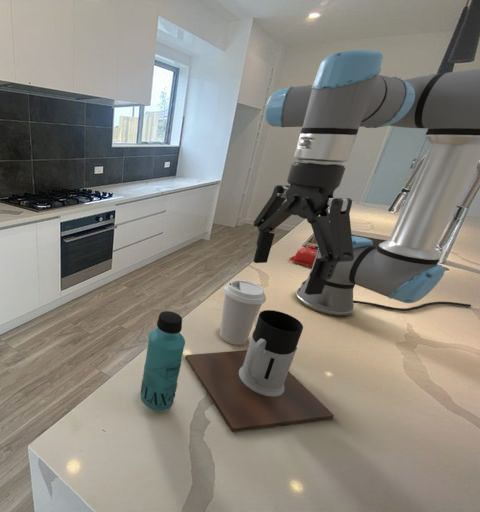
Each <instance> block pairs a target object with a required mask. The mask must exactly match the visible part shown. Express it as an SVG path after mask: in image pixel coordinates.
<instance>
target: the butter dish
mask: <svg viewBox="0 0 480 512" xmlns="http://www.w3.org/2000/svg"><path fill="white" fill-rule="evenodd" d="M317 251H318V249H316V245H314V244H309V245H308V247H300V248H299V249H298V250H297V251H296V253H295V255H292V256H291V257H290V258H289V259H288V260H289V261H291V262H294V263H296V264H298V265H302V266H305V267H308V268H312V266H313V263H314V260H315V257H316V254H317Z"/></svg>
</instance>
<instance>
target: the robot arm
mask: <svg viewBox="0 0 480 512" xmlns="http://www.w3.org/2000/svg"><path fill="white" fill-rule="evenodd" d="M383 58H384V57H383V53H382V52H381V51H380V50H377V49H353V50H351V49H350V50H345V51H340V52H335V53H332V54H330V55H328V56H326V57H324V58H323V60H321V62H320V64H319V67H318V69H317V73H316V76H315V78H314V81H313V83H312V84H307V85H299V86H288V87H284V88H279V89H277V90H276V91H274V92H273V93H272V94H271V95H270V97H268V100H267V102H266V105H265V106H266V107H265V110H264V117H265V120H266V122H267V124H268V125H269V126H271V127H277V128H279V127H280V128H301V130H300V133H299V137H298V140H297V145H296V148H295V152H294V155H293V158H294V159H296V161H294V162H293V163H291V165H290V169H289V173H288V176H287V180H286V182H287V183H288V184H289V185H288V184H276V185H275V186H274V188H273V191H272V193H271V195H270V198H269V199H268V200H267V202H266V203H265V205H264V206H263V207H262V209H261V211H260V212H259V213H258V214H257V216H256V218H255V219H254V221H253V226H254V227H256V228H257V230H258V232H259V233H258V235H257V240H256V250H255V253H254V258H253V263H254V264H266V263H268V259H269V256H270V253H271V249H272V245H273V241H274V239H275V235H276V234H275V233H274V232H275V229H276V228H278V227H279V226H280V225H281V224H282V223H284V222H285V221H286V220H287V219H289V218H290V217H291V216H298V217H300V218H301V219H304V220H305V219H306V221H307V223H308V224H310V226H311V229H312V231H313V235H314V238H315V242H316V244H317V247H318V248H317V250H318V251H317V254H316V257H315V260H314V263H313V266H312V267H311V268H310V272H309V275H308V277H307V278H306V279H305V280H304V281H302V283H300V287H299V288H297V290H296V292H295V296H294V297H295V299H296V301H297V302H298V303H299V304H301V305H302V306H304V307H306V308H307V309H309V310H312V311H315V312H317V313H321V314H323V315H328V316H334V317H348V316H350V315H351V314H352V313H353V310H354V307H355V306H354V304H356V305H357V304H358V305H365V306H366V305H367V306H372V307H377V308H382V309H387V310H390V311H397V312H410V311H415V310H418V309H419V310H420V309H422V308H425V307H428V306H429V307H430V306H434V305H452V306H458V307H459V306H460V307H468V308H471V307H472V304H471V303H470V304H469V303H462V302H454V301H431V302H426V303H422V304H420V305H417V306H411V307H406V308H405V307H403V308H402V307H393V306H389V305H384V304H379V303H373V302H370V301H369V302H368V301H362V300H354V288H355V286H359V287H361V288H363V289H366V290H369V291H371V292H374V293H376V294H378V295H381V296H384V297H386V298H388V299H390V300H391V299H392V300H394V301H398V302H401V303H404V304H414V303H417V302H419V301H421V300H422V299H424V298H425V297H426V296H428V295H429V293H431V292H432V291H433V289H434V288H435V287H436V286H437V285H438V284H439V282H440V281H441V280H442V278H443V277H444V275H445V272H446V267H445V266H443V265H442V264H439V262H440V259H441V254H440V253H439V252H438V250H437V249H436V248H437V246H438V245H439V243H440V240H441V238H442V236H443V234H444V232H445V230H446V229H447V226H448V224H449V222H450V221H451V218H452V216H453V214H454V213H455V210H456V208H457V207H458V204H459V203H460V200H461V199H462V196H463V195H464V193H465V190H466V189H467V187H468V185H469V182H470V181H471V179H472V177H473V175H474V173H475V171H476V169H477V167H478V165H479V163H480V68H475V69H466V70H460V71H458V70H457V71H451V72H449V71H448V72H439V73H432V74H427V75H421V76H415V77H411V78H407V79H402V78H401V77H399V78H398V77H397V76H387V75H381V74H380V73H381V71H382V69H381V68H382V63H383V60H384V59H383ZM389 126H390V127H397V128H405V129H406V128H407V129H427V130H426V132H425V135H424V138H425V139H426V140H427V142H429V147H428V149H427V151H426V153H425V156H424V159H423V161H422V162H421V166H420V168H419V170H418V172H417V174H416V177H415V179H414V182H413V184H412V186H411V188H410V190H409V193H408V195H407V198H406V200H405V202H404V204H403V206H402V209H401V211H400V212H399V213H400V214H399V216H398V217H397V221H396V223H395V225H394V227H393V230H392V232H391V233H390V236H389V239H387V240H385V241H382V242H380V243H379V244H378V246H377V247H375V246H373V245H374V241H373V240H372V239H369V238H366V237H362V236H355V235H352V227H351V225H352V224H351V215H350V212H351V208H352V204H353V200H352V199H351V198H349V197H348V198H347V197H346V198H345V197H343V198H342V197H338V198H337V197H334V193H335V191H336V189H338V188H339V187H340V186H341V183H342V180H343V177H344V174H345V171H346V167H345V165H343V164H344V163H346V162H348V161H349V160H350V157H351V154H352V151H353V148H354V144H355V142H356V139H357V137H358V136H357V135H358V132H359V129H360V127H361V128H367V129H377V128H384V127H389Z"/></svg>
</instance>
